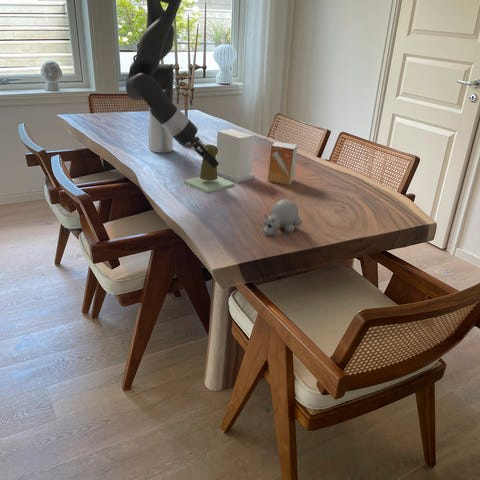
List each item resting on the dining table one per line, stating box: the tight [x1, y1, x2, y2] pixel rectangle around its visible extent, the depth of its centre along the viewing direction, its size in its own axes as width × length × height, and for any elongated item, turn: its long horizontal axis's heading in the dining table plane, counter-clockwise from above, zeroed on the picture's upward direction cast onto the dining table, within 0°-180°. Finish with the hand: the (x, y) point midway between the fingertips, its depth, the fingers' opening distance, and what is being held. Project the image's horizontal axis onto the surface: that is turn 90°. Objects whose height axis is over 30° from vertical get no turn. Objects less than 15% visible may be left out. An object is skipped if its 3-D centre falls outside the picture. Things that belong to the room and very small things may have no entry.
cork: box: [199, 144, 219, 180], centre depth 152 cm, size 6×6×11 cm
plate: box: [183, 176, 235, 194], centre depth 155 cm, size 12×12×1 cm
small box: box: [267, 141, 298, 186], centre depth 160 cm, size 8×6×13 cm
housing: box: [216, 128, 256, 184], centre depth 162 cm, size 13×9×15 cm
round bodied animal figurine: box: [262, 198, 303, 236], centre depth 123 cm, size 7×12×8 cm, turn 129°
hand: (214, 163), depth 152 cm, fingers closed on cork, 5 cm apart
